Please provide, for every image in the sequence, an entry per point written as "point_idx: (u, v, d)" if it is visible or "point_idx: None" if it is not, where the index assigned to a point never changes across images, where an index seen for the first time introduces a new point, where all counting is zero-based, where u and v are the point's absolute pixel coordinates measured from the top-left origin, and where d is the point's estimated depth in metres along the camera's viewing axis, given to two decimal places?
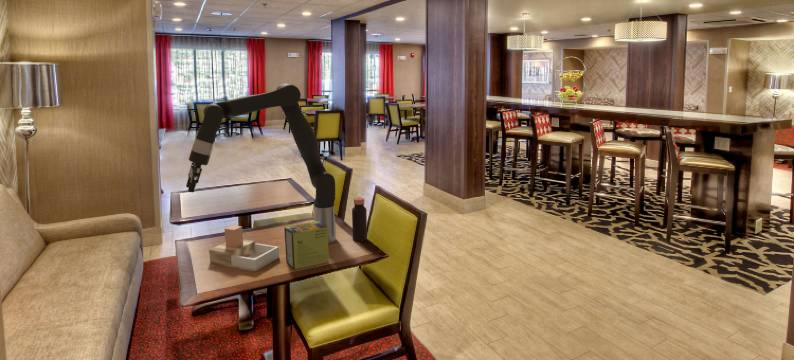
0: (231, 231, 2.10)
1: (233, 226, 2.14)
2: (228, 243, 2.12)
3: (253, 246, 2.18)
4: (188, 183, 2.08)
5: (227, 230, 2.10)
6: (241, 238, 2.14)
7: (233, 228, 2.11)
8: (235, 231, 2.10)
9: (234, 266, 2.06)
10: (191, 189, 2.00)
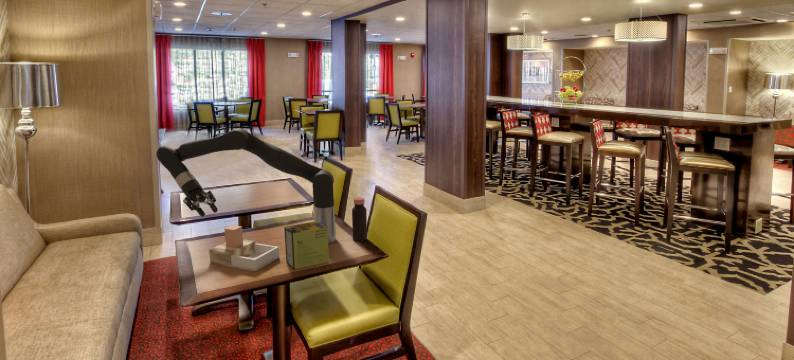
0: (231, 231, 2.10)
1: (233, 226, 2.14)
2: (228, 243, 2.12)
3: (253, 246, 2.18)
4: (212, 209, 2.20)
5: (227, 230, 2.10)
6: (241, 238, 2.14)
7: (233, 228, 2.11)
8: (235, 231, 2.10)
9: (234, 266, 2.06)
10: (200, 214, 2.13)
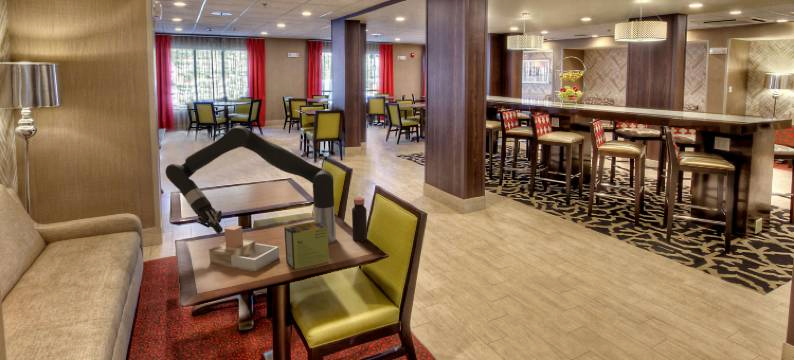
0: (231, 231, 2.10)
1: (233, 226, 2.14)
2: (228, 243, 2.12)
3: (253, 246, 2.18)
4: None
5: (227, 230, 2.10)
6: (241, 238, 2.14)
7: (233, 228, 2.11)
8: (235, 231, 2.10)
9: (234, 266, 2.06)
10: (216, 231, 2.15)
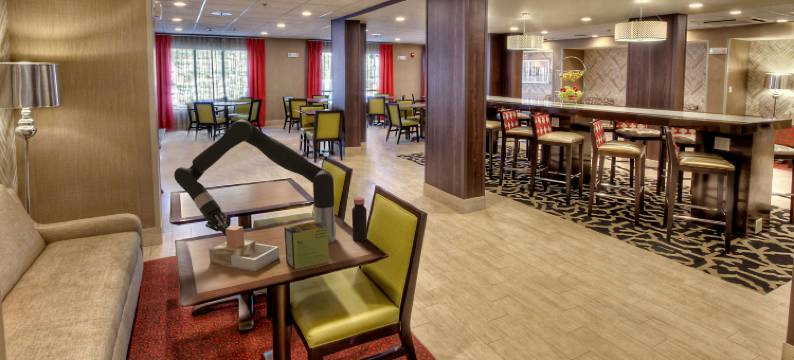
0: (232, 232, 2.09)
1: (234, 226, 2.13)
2: (229, 243, 2.11)
3: (253, 246, 2.18)
4: None
5: (228, 230, 2.10)
6: (242, 238, 2.13)
7: (234, 228, 2.10)
8: (236, 231, 2.09)
9: (234, 266, 2.06)
10: None
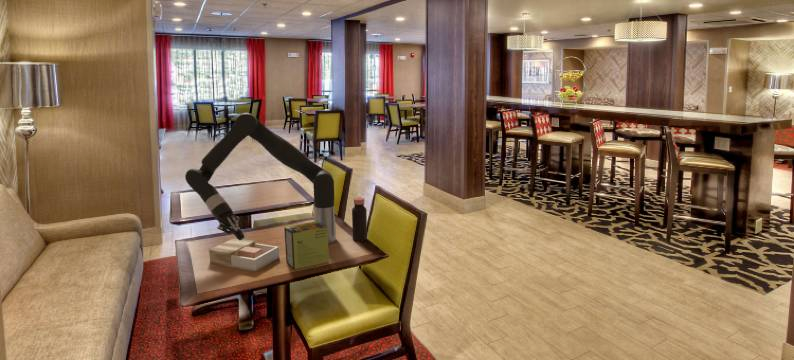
0: None
1: (260, 253, 2.10)
2: (241, 254, 2.09)
3: (253, 246, 2.18)
4: None
5: (253, 256, 2.07)
6: None
7: None
8: None
9: (234, 266, 2.06)
10: (238, 237, 2.10)
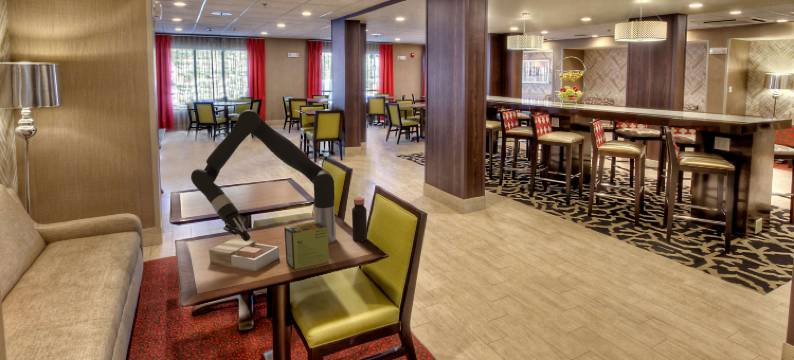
0: None
1: (260, 253, 2.10)
2: (241, 254, 2.09)
3: (253, 246, 2.18)
4: None
5: (253, 256, 2.07)
6: None
7: None
8: None
9: (234, 266, 2.06)
10: (244, 238, 2.08)
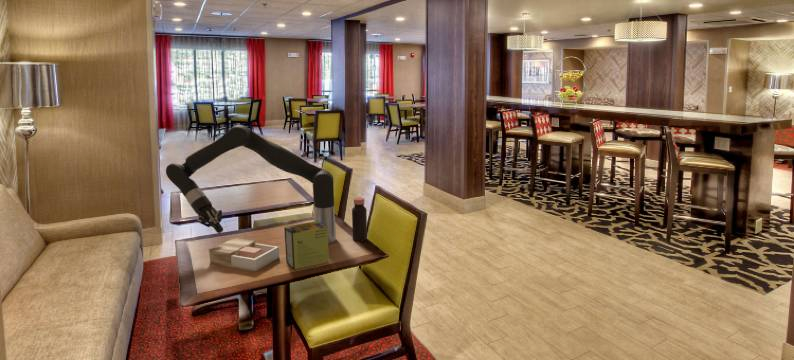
0: None
1: (260, 253, 2.10)
2: (241, 254, 2.09)
3: (253, 246, 2.18)
4: None
5: (253, 256, 2.07)
6: None
7: None
8: None
9: (234, 266, 2.06)
10: (217, 230, 2.15)
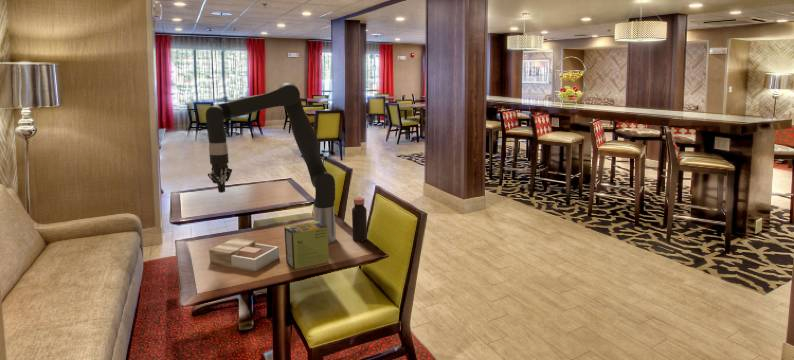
0: None
1: (260, 253, 2.10)
2: (241, 254, 2.09)
3: (253, 246, 2.18)
4: None
5: (253, 256, 2.07)
6: None
7: None
8: None
9: (234, 266, 2.06)
10: (219, 190, 2.17)
